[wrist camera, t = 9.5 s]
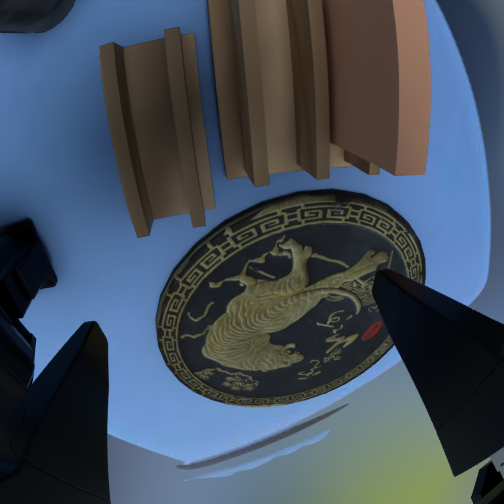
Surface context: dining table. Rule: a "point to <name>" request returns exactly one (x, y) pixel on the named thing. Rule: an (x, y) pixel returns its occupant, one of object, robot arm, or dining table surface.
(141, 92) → the holder
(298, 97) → the rack
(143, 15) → the dining table surface
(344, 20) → the wooden block
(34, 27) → the beverage cup
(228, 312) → the decorative plate
